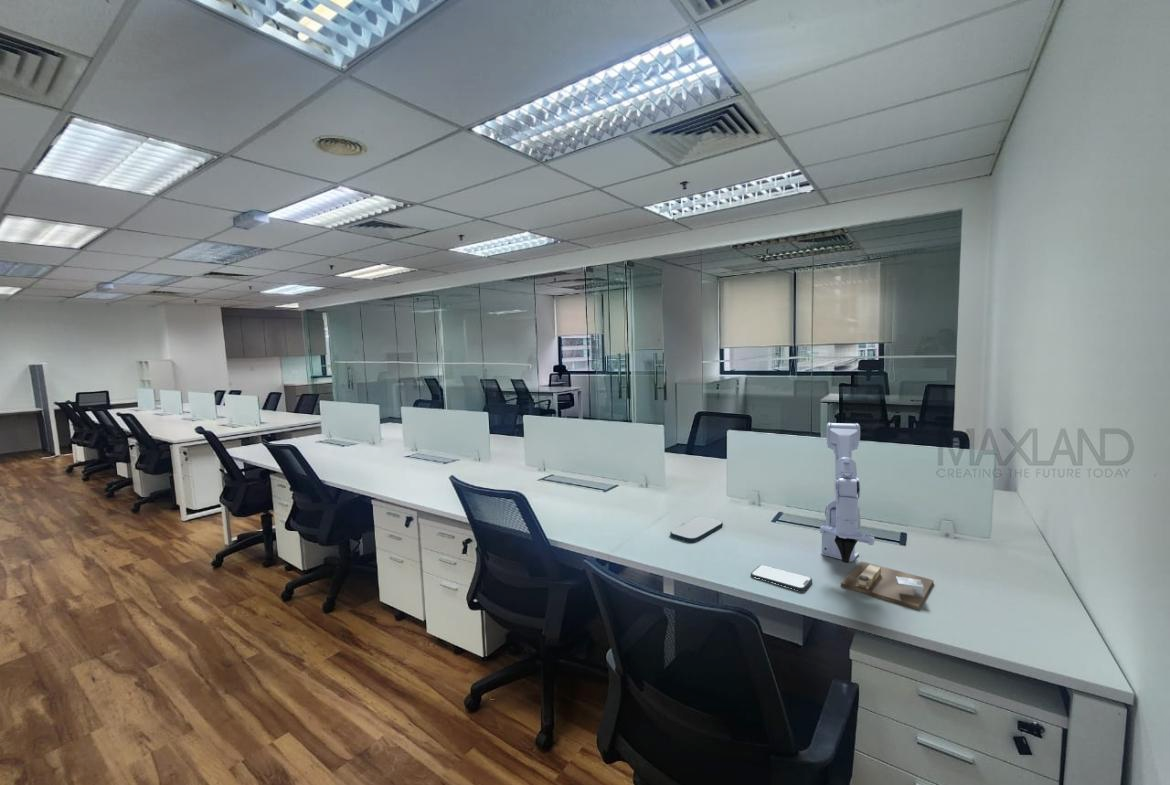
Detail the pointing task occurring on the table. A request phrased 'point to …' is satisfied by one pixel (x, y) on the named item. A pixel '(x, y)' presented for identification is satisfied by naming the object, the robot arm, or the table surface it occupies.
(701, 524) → the external hard drive
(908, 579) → the keeper
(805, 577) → the phone case
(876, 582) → the walnut board
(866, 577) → the pivot link
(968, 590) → the table surface
